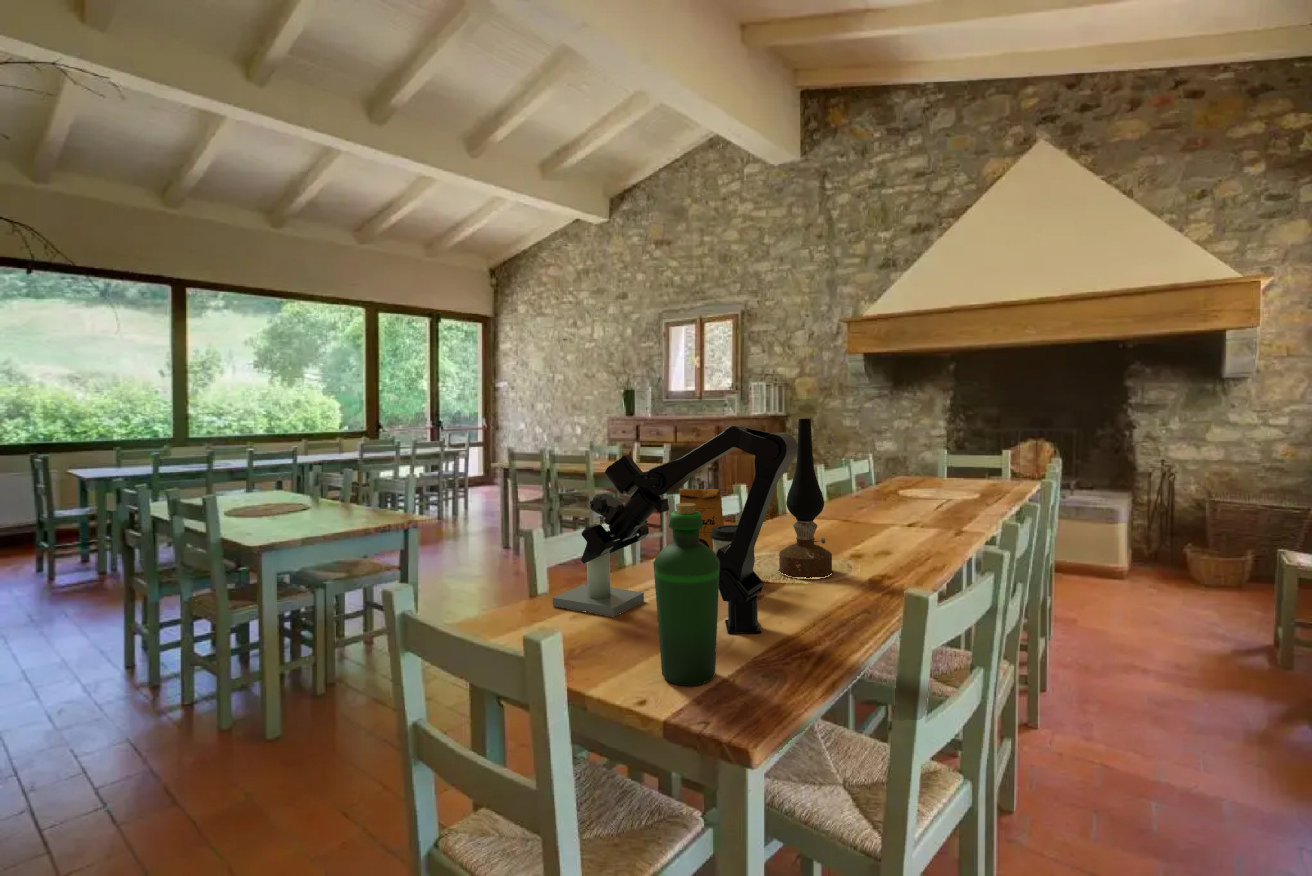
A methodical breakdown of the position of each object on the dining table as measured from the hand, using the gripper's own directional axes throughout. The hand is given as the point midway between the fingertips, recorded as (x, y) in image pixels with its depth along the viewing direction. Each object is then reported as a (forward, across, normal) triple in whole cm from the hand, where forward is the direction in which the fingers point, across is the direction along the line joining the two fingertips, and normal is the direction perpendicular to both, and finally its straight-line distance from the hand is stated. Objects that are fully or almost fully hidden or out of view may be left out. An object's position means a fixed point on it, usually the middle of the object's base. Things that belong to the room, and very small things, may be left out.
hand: (595, 557), depth 144 cm
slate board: (+7, 0, +8) cm, 10 cm away
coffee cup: (-9, -20, +24) cm, 33 cm away
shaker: (+5, 0, +6) cm, 8 cm away
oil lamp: (-16, -45, +31) cm, 57 cm away
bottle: (-17, +25, +33) cm, 44 cm away
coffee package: (0, -32, +15) cm, 36 cm away
